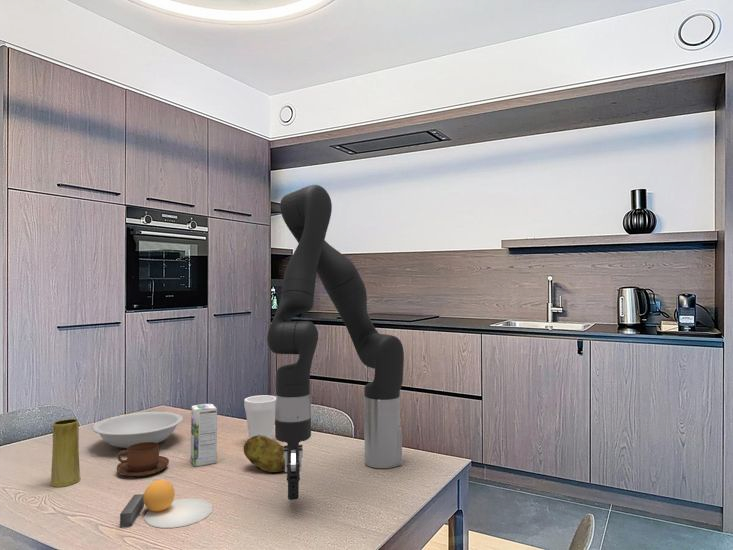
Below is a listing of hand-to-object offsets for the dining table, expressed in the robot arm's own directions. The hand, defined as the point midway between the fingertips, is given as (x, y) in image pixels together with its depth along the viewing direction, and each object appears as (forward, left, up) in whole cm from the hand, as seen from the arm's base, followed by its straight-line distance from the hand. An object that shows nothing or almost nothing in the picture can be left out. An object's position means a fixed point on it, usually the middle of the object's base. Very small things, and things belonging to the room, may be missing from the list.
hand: (293, 498), depth 108 cm
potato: (+6, -22, -2) cm, 23 cm away
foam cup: (+9, -43, -2) cm, 44 cm away
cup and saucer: (+37, -26, -2) cm, 45 cm away
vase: (+53, -21, -2) cm, 57 cm away
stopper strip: (+32, 0, -2) cm, 32 cm away
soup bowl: (+44, -48, -2) cm, 65 cm away
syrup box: (+23, -30, -2) cm, 38 cm away
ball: (+27, -2, +2) cm, 28 cm away
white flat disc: (+23, 0, -2) cm, 23 cm away
